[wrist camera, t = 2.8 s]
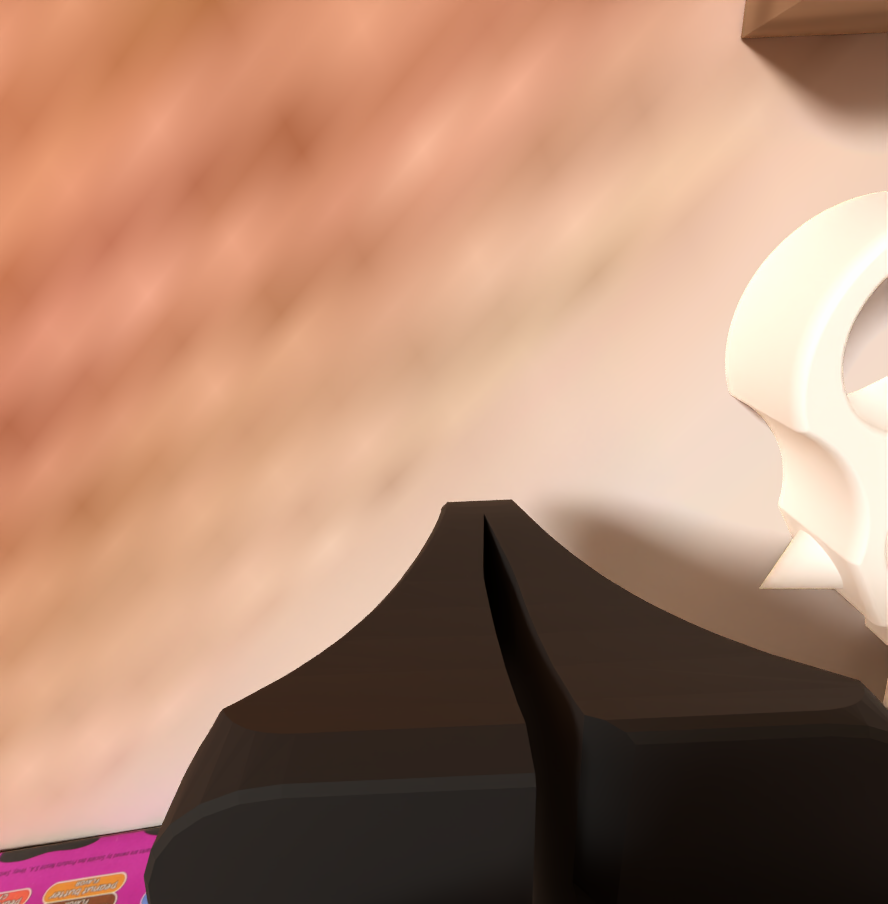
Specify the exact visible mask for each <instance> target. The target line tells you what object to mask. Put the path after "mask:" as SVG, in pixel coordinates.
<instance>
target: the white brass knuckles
mask: <svg viewBox="0 0 888 904" xmlns="http://www.w3.org/2000/svg"><path fill="white" fill-rule="evenodd" d="M887 277H888V191H881V192H875V193H870V194H866V195H862V196H859V197H855V198H852V199H850V200H847V201H844V202H842V203H839V204H837V205H835V206H833V207H831V208H829V209H827V210H825V211H823V212H821V213H820V214H818V215H816V216H815V217H813V218H812V219H810V220H809V221H807V222H806V223H804V224H803V225H801V226H800V227H799V228H798V229H796V230H795V231H794V232H793V233H791V234H790V235H789V236H788V237H787V238H786V239H785V240H784V241H782V242H781V243H780V244H779V245H778V246H777V247H776V248H775V250H774V251H773V252H772V253H771V254H770V255H769V256H768V257H767V259H766V260H765V261H764V262H763V263H762V265H761V266H760V267H759V269H758V270H757V272H756V273H755V274H754V276H753V278H752V279H751V281H750V282H749V284H748V286H747V287H746V289H745V291H744V293H743V295H742V297H741V299H740V301H739V303H738V306H737V308H736V311H735V313H734V316H733V319H732V322H731V326H730V330H729V334H728V339H727V345H726V356H725V370H726V379H727V385H728V390H729V394H730V395H731V396H733V397H735V398H736V399H738V400H740V401H742V402H743V403H745V404H747V405H749V406H750V407H751V408H752V409H754V410H755V411H756V412H757V413H758V414H759V415H760V416H761V417H762V418H763V419H764V420H765V422H766V423H767V424H768V426H769V427H770V429H771V430H772V432H773V434H774V436H775V438H776V440H777V443H778V445H779V449H780V452H781V457H782V463H783V484H782V490H781V495H780V499H779V502H778V507H779V509H780V511H781V514H782V516H783V518H784V520H785V523H786V525H787V527H788V530H789V532H790V534H791V536H792V539H793V540H792V541H791V542H790V544H789V545H788V547H787V548H786V550H785V551H784V553H783V554H782V556H781V557H780V559H779V560H778V561H777V563H776V564H775V566H774V567H773V569H772V570H771V572H770V573H769V575H768V576H767V577H766V579H765V580H764V582H763V583H762V585H761V586H760V588H759V589H835V590H836V591H837V592H839V593H840V594H841V595H842V596H843V597H844V598H845V599H846V600H847V601H848V602H850V603H851V604H852V605H853V606H854V607H855V608H856V609H857V610H858V611H860V612H861V613H862V614H863V615H864V616H865V625H866V626H867V627H868V628H869V629H870V630H871V631H872V632H873V633H874V634H875V635H876V636H877V637H879V638H880V639H881V640H882V641H883V642H884V643H885V644H886V645H887V646H888V376H887V377H885V378H883V379H881V380H879V381H877V382H875V383H873V384H871V385H869V386H867V387H864V388H862V389H860V390H858V391H855V392H852V393H849V394H846V391H845V387H844V381H843V358H844V352H845V347H846V343H847V340H848V337H849V334H850V331H851V329H852V326H853V324H854V322H855V320H856V318H857V316H858V314H859V312H860V311H861V309H862V307H863V306H864V304H865V303H866V301H867V300H868V298H869V297H870V296H871V294H872V293H873V292H874V291H875V290H876V288H877V287H878V286H879V285H880V284H881V283H882V282H883V281H884V280H885V279H886V278H887ZM883 705H884V706H885V707H886V708H888V680H887V685H886V690H885V695H884V700H883Z"/></svg>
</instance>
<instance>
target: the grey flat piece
mask: <svg viewBox="0 0 888 904" xmlns="http://www.w3.org/2000/svg"><path fill="white" fill-rule="evenodd" d="M885 32H888V0H746V4H745V11H744V19H743V27H742V35H741V38H759V37H784V36H809V35H835V34H860V33H885Z"/></svg>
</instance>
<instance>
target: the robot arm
mask: <svg viewBox="0 0 888 904" xmlns="http://www.w3.org/2000/svg"><path fill="white" fill-rule="evenodd" d="M144 883H145V889H146V896H147V902H148V904H888V709H887V708H886V707H885V706H884V705H883V704H882V703H881V702H880V701H879V700H878V699H877V698H876V697H875V696H874V695H873V693H872V692H871V691H870V690H869V689H867V688H866V687H865V686H864V685H863V684H862V683H861V682H860V681H859V680H856V679H852V678H849V677H846V676H842V675H839V674H835V673H832V672H829V671H825V670H822V669H819V668H815V667H812V666H808V665H805V664H802V663H798V662H795V661H791V660H788V659H785V658H781V657H778V656H775V655H772V654H769V653H766V652H763V651H760V650H757V649H755V648H752V647H749V646H747V645H744V644H741V643H738V642H736V641H733V640H730V639H728V638H725V637H722V636H720V635H717V634H715V633H713V632H710V631H708V630H705V629H703V628H700V627H698V626H696V625H693V624H691V623H689V622H687V621H685V620H683V619H681V618H678V617H676V616H674V615H672V614H670V613H668V612H666V611H664V610H662V609H659V608H657V607H655V606H654V605H652V604H650V603H648V602H646V601H644V600H642V599H640V598H638V597H637V596H635V595H633V594H632V593H630V592H628V591H627V590H625V589H623V588H622V587H620V586H618V585H616V584H615V583H613V582H611V581H610V580H608V579H607V578H605V577H604V576H602V575H601V574H599V573H598V572H596V571H595V570H593V569H592V568H591V567H589V566H588V565H586V564H585V563H584V562H582V561H581V560H580V559H578V558H577V557H576V556H574V555H573V554H572V553H570V552H569V551H568V550H567V549H565V548H564V547H563V546H562V545H560V544H559V543H558V542H557V541H556V540H554V539H553V538H552V537H551V536H550V535H549V534H547V533H546V532H545V531H544V530H543V529H542V528H541V527H540V526H539V525H538V524H537V523H536V522H535V521H533V520H532V519H531V518H530V517H529V516H528V515H527V514H526V513H525V512H524V511H523V510H522V509H521V508H520V507H519V506H518V505H517V504H516V503H515V502H514V501H513V500H490V501H467V502H447V503H446V504H445V505H444V506H443V507H442V509H441V513H440V516H439V519H438V521H437V523H436V525H435V527H434V529H433V531H432V533H431V535H430V537H429V538H428V540H427V542H426V543H425V545H424V547H423V548H422V550H421V552H420V553H419V555H418V556H417V558H416V559H415V561H414V562H413V563H412V565H411V566H410V567H409V569H408V570H407V572H406V573H405V574H404V576H403V577H402V578H401V580H400V581H399V582H398V583H397V585H396V586H395V587H394V588H393V589H392V591H391V592H390V593H389V594H388V595H387V596H386V597H385V598H384V599H383V600H382V601H381V603H380V604H379V605H378V606H377V607H376V608H375V609H374V610H373V611H372V612H371V613H370V614H369V615H367V616H366V617H365V618H364V619H363V620H362V621H361V622H360V623H359V624H357V625H356V626H355V627H354V628H353V629H351V630H350V631H349V632H348V633H347V634H346V635H344V636H343V637H342V638H341V639H339V640H338V641H337V642H335V643H334V644H333V645H331V646H330V647H328V648H327V649H326V650H324V651H323V652H321V653H320V654H319V655H317V656H316V657H314V658H313V659H311V660H309V661H308V662H306V663H305V664H303V665H302V666H300V667H299V668H297V669H296V670H294V671H292V672H291V673H289V674H287V675H286V676H284V677H282V678H280V679H279V680H277V681H275V682H273V683H271V684H269V685H268V686H266V687H264V688H262V689H260V690H258V691H257V692H255V693H253V694H251V695H249V696H247V697H245V698H244V699H242V700H240V701H238V702H236V703H234V704H232V705H230V706H228V707H226V708H224V709H223V710H222V711H221V712H220V714H219V715H218V717H217V719H216V721H215V723H214V724H213V726H212V728H211V730H210V731H209V733H208V735H207V736H206V738H205V739H204V741H203V742H202V744H201V746H200V747H199V749H198V751H197V753H196V754H195V756H194V758H193V760H192V762H191V764H190V765H189V767H188V769H187V771H186V773H185V775H184V777H183V779H182V781H181V784H180V786H179V788H178V790H177V792H176V795H175V797H174V799H173V801H172V803H171V806H170V808H169V810H168V812H167V815H166V817H165V819H164V821H163V823H162V826H161V828H160V830H159V832H158V835H157V837H156V839H155V841H154V843H153V846H152V848H151V851H150V854H149V858H148V862H147V865H146V869H145V873H144Z"/></svg>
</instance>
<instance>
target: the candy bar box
mask: <svg viewBox="0 0 888 904" xmlns="http://www.w3.org/2000/svg"><path fill="white" fill-rule="evenodd" d="M160 828H161V826H160V827H154V828H148V829H141V830H135V831H129V832H123V833H117V834H111V835H104V836H98V837H92V838H86V839H79V840H73V841H67V842H62V843H56V844H50V845H43V846H37V847H31V848H25V849H19V850H12V851H6V852H1V853H0V904H148V902H147V896H146V889H145V883H144V873H145V869H146V865H147V862H148V858H149V854H150V851H151V848H152V846H153V843H154V841H155V839H156V837H157V835H158V832H159V830H160Z"/></svg>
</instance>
